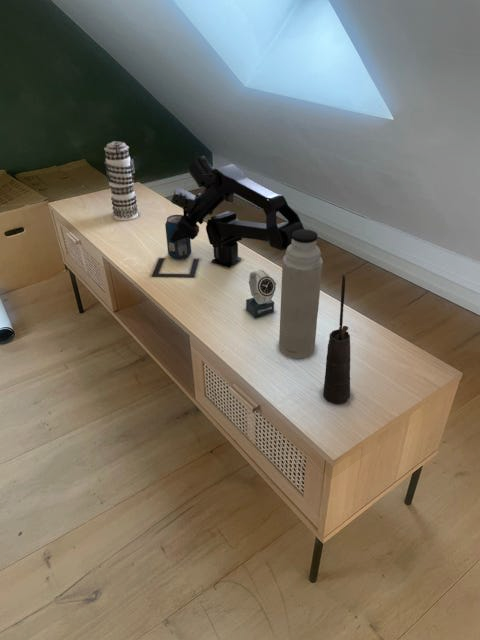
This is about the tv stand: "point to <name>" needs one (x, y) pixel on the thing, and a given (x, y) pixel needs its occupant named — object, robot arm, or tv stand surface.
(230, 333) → the tv stand surface
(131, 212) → the white and grey cylinder
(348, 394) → the butter churn
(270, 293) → the watch
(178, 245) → the soda can
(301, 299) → the thermos bottle
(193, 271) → the tape square
